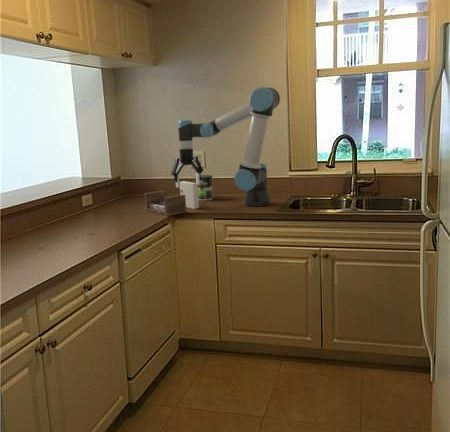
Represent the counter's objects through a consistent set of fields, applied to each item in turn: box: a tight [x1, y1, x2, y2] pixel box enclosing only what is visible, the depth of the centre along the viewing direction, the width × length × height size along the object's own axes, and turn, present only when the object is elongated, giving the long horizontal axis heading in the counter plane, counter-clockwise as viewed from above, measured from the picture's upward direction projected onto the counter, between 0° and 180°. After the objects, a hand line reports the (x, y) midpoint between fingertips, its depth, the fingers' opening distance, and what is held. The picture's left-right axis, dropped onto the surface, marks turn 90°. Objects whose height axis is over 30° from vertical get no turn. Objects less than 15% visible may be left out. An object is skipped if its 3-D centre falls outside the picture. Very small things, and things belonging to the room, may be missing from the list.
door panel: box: [179, 180, 200, 210], centre depth 298 cm, size 14×3×14 cm, turn 36°
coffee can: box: [194, 174, 214, 201], centre depth 320 cm, size 10×10×14 cm
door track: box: [143, 190, 187, 217], centre depth 289 cm, size 24×12×10 cm, turn 36°
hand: (187, 186), depth 297 cm, fingers open, 13 cm apart
